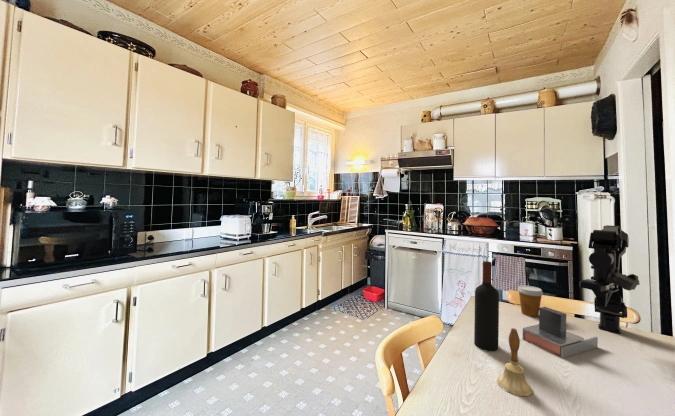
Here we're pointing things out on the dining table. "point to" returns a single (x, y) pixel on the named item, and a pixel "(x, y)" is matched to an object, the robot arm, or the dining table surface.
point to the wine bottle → (486, 312)
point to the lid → (553, 327)
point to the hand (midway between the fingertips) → (603, 306)
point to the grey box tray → (561, 350)
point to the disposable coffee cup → (530, 300)
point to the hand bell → (514, 370)
